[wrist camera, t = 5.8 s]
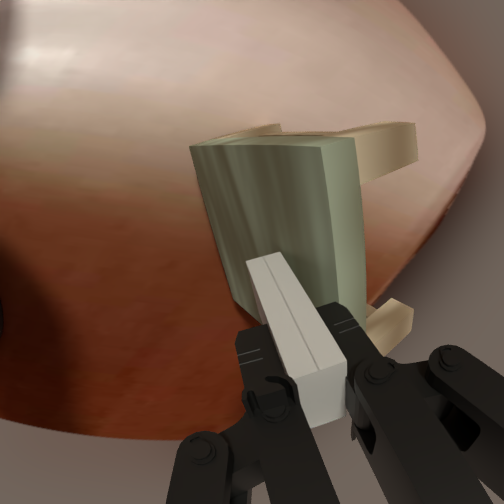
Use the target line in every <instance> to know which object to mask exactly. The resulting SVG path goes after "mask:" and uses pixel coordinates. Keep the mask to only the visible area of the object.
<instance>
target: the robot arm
mask: <svg viewBox="0 0 504 504" xmlns="http://www.w3.org/2000/svg"><path fill="white" fill-rule="evenodd" d="M246 264H247V268H248V272H249V276H250V280H251V284H252V288H253V292H254V296H255V300H256V304H257V307H258V311H259V315H260V317H261V320H262V323H263V325H260V326H257V327H253V328H250V329H246V330H242V331H239V332H238V335H237V338H236V341H235V346H236V351H237V355H238V360H239V364H240V369H241V374H242V378H243V383H244V387H245V388H244V390H243V391H242V402H243V404H244V407H245V409H246V412H245V414H244V416H243V417H242V418H241V419H240V420H239V422H237V423H236V424H235V425H233V426H232V427H230V428H228V429H226V430H224V431H222V432H220V433H219V434H217V433H215V432H210V431H201V432H196V433H194V434H192V435H190V436H187V437H186V438H185V439H184V440H183V441H182V442H181V444H180V446H179V448H178V450H177V454H176V458H175V463H174V467H173V472H172V476H171V481H170V486H169V491H168V495H167V500H166V504H251V495H252V488H253V487H255V486H257V485H259V484H260V483H262V482H264V481H265V483H266V488H267V491H268V495H269V498H270V503H271V504H340V502H339V500H338V497H337V495H336V492H335V490H334V488H333V485H332V483H331V480H330V477H329V475H328V472H327V470H326V467H325V465H324V462H323V460H322V457H321V455H320V452H319V449H318V447H317V444H316V442H315V439H314V437H313V434H312V432H311V428H314V427H316V426H319V425H323V424H326V423H328V422H331V421H334V420H337V419H339V418H342V417H344V416H346V408H347V410H348V412H349V413H350V416H351V418H352V427H351V438H352V441H353V440H355V438H356V437H357V439H358V441H359V443H360V445H361V447H362V449H363V451H364V454H365V456H366V458H367V459H368V462H369V464H370V466H371V468H372V470H373V472H374V474H375V476H376V478H377V480H378V482H379V484H380V487H381V489H382V491H383V493H384V495H385V497H386V499H387V501H388V503H389V504H493V502H492V501H491V499H490V497H489V496H488V494H487V493H486V491H485V489H484V488H483V486H482V484H481V483H480V481H479V480H478V479H480V480H481V481H482V482H483V483H484V484H485V485H486V486H487V487H489V488H490V489H491V490H492V491H493V492H494V493H496V494H497V495H498V496H499V497H500V498H501V499H502V500H504V377H503V376H502V375H500V374H499V373H497V372H496V371H495V370H493V369H492V368H490V367H488V366H487V365H486V364H484V363H483V362H482V361H480V360H479V359H477V358H476V357H474V356H473V355H471V354H470V353H468V352H467V351H465V350H464V349H462V348H460V347H458V346H454V345H444V346H440V347H439V348H436V349H435V350H434V351H433V352H432V353H431V355H430V357H429V360H427V361H421V362H416V363H410V364H400V363H397V362H396V361H395V360H393V359H391V358H388V357H384V356H383V355H382V354H381V353H380V352H379V351H378V349H377V348H376V346H375V345H374V344H373V342H372V341H371V340H370V338H369V337H368V336H367V334H366V333H365V331H364V330H363V329H362V327H361V326H360V325H359V323H358V322H357V321H356V319H354V317H353V315H352V314H351V313H350V311H349V310H348V309H347V307H345V306H343V305H341V304H339V303H337V302H336V301H335V302H332V303H329V304H326V305H323V306H320V307H317V308H315V307H314V305H313V304H312V302H311V300H310V299H309V297H308V296H307V294H306V292H305V291H304V289H303V288H302V286H301V284H300V283H299V281H298V280H297V278H296V276H295V275H294V273H293V272H292V270H291V268H290V267H289V265H288V264H287V262H286V260H285V259H284V257H283V256H282V254H281V252H277V253H273V254H269V255H266V256H262V257H259V258H255V259H251V260H248V261H246ZM2 329H3V314H2V308H1V303H0V337H1V334H2Z"/></svg>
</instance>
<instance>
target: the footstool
mask: <svg viewBox="0 0 504 504" xmlns="http://www.w3.org/2000/svg"><path fill="white" fill-rule="evenodd" d="M189 148H190V152H191V156H192V160H193V163H194V167H195V170H196V174H197V178H198V181H199V185H200V188H201V192H202V195H203V199H204V203H205V206H206V210H207V213H208V216H209V220H210V223H211V227H212V230H213V234H214V237H215V240H216V244H217V247H218V250H219V254H220V257H221V260H222V264H223V267H224V270H225V274H226V277H227V280H228V283H229V287H230V290H231V293H232V296H233V300H235V301H236V302H237V303H238V304H239V305H240V306H241V307H242V308H244V309H245V310H246V311H247V312H248V313H249V314H250V315H251V316H253V317H254V318H255V319H256V320H257V321H258V322H259V323H261V324H262V325H263V323H262V320H261V317H260V315H259V311H258V307H257V304H256V300H255V296H254V292H253V288H252V284H251V280H250V276H249V272H248V268H247V264H246V261H248V260H251V259H255V258H259V257H262V256H266V255H269V254H273V253H277V252H281V254H282V256H283V257H284V259H285V260H286V262H287V264H288V265H289V267H290V268H291V270H292V272H293V273H294V275H295V276H296V278H297V280H298V281H299V283H300V284H301V286H302V288H303V289H304V291H305V292H306V294H307V296H308V297H309V299H310V300H311V302H312V304H313V305H314V307H315V308H317V307H320V306H323V305H326V304H329V303H332V302H335V301H336V302H337V303H339V304H341V305H343V306H345V307H347V309H348V310H349V311H350V313H351V314H352V315H353V317H354V319H356V321H357V322H358V323H359V325H360V326H361V327H362V329H363V330H364V331H365V333H366V334H367V336H368V337H369V338H370V340H371V341H372V342H373V344H374V345H375V346H376V348H377V349H378V351H379V352H380V353H381V354H382V355H383V356H385V355H386V354H387V353H389V352H390V351H391V350H392V349H393V348H394V347H395V346H396V345H397V344H398V343H399V342H400V341H401V340H402V339H403V338H404V337H405V336H406V335H407V334H408V333H410V332H411V328H412V321H413V313H414V309H413V308H411V307H409V306H407V305H404V304H402V303H400V302H398V301H396V300H394V299H392V298H391V299H390V300H389V301H388V302H386V303H385V304H384V305H382V306H381V307H380V308H379V309H378V310H377V309H375V308H374V307H372V306H370V305H368V304H366V260H365V239H364V223H363V210H362V198H361V188H360V185H362V184H365V183H367V182H369V181H372V180H374V179H376V178H379V177H381V176H383V175H386V174H388V173H390V172H393V171H395V170H397V169H400V168H402V167H404V166H407V165H409V164H411V163H414V162H416V161H418V149H417V138H416V128H415V123H408V122H386V121H384V122H379V123H374V124H370V125H365V126H361V127H356V128H352V129H347V130H343V131H339V132H282V130H281V126H280V124H268V125H262V126H258V127H254V128H251V129H247V130H243V131H239V132H235V133H232V134H228V135H225V136H221V137H218V138H214V139H211V140H208V141H204V142H201V143H198V144H195V145H191V146H189Z"/></svg>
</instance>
